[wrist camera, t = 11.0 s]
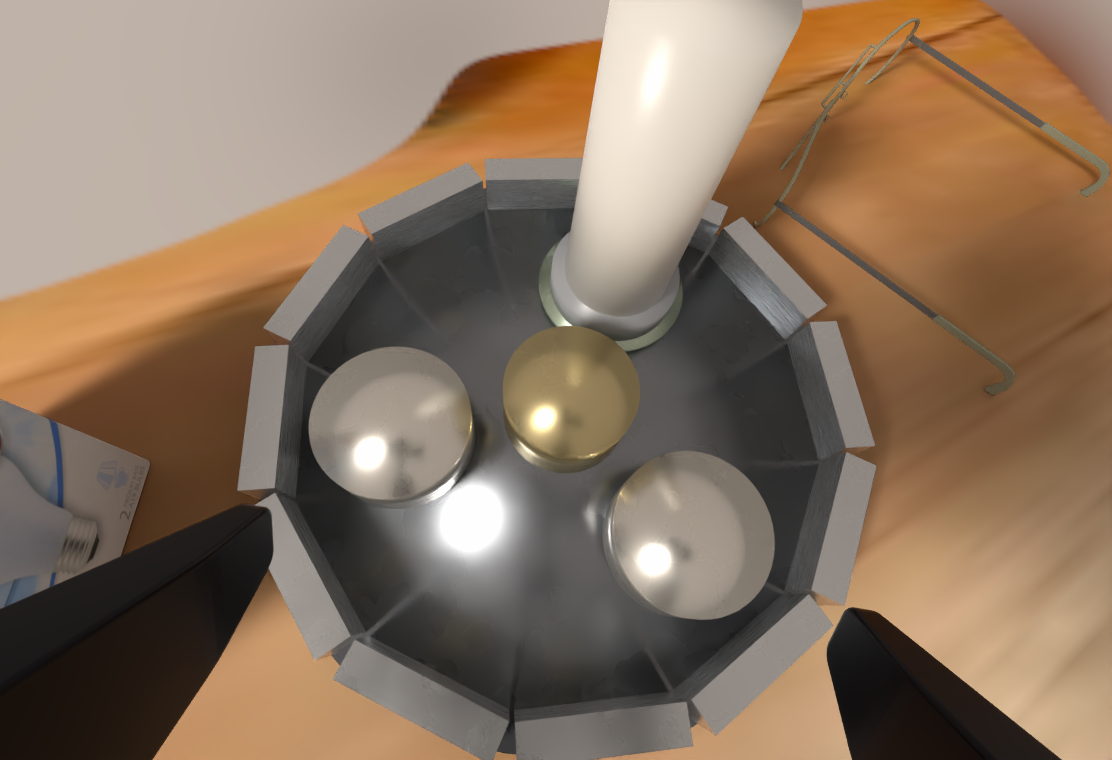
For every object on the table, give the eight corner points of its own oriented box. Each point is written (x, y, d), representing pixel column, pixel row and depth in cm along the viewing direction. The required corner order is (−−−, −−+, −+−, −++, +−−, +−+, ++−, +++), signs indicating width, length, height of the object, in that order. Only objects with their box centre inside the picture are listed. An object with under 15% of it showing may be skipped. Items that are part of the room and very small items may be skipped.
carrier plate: (907, 707, 21) (999, 731, 17) (233, 792, 18) (158, 845, 14) (762, 195, 29) (801, 133, 25) (295, 202, 27) (259, 135, 23)
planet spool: (696, 302, 25) (873, 23, 13) (599, 364, 23) (696, 112, 11) (622, 216, 26) (718, -106, 14) (525, 269, 25) (543, -44, 13)
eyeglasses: (855, 72, 34) (909, -10, 30) (1081, 200, 32) (1178, 132, 27) (726, 231, 29) (768, 160, 24) (987, 400, 26) (1089, 357, 22)
